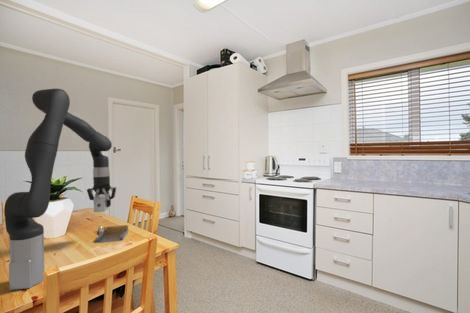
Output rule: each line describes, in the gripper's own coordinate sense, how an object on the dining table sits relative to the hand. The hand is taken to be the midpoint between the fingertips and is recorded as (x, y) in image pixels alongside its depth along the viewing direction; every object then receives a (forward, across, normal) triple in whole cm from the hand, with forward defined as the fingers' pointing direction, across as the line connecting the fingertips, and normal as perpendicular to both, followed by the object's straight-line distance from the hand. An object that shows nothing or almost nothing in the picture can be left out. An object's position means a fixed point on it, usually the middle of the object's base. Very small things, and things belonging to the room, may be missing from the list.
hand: (102, 206), depth 121 cm
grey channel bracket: (+18, +3, +5) cm, 19 cm away
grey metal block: (+1, 0, 0) cm, 1 cm away
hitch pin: (+19, -6, +13) cm, 24 cm away
